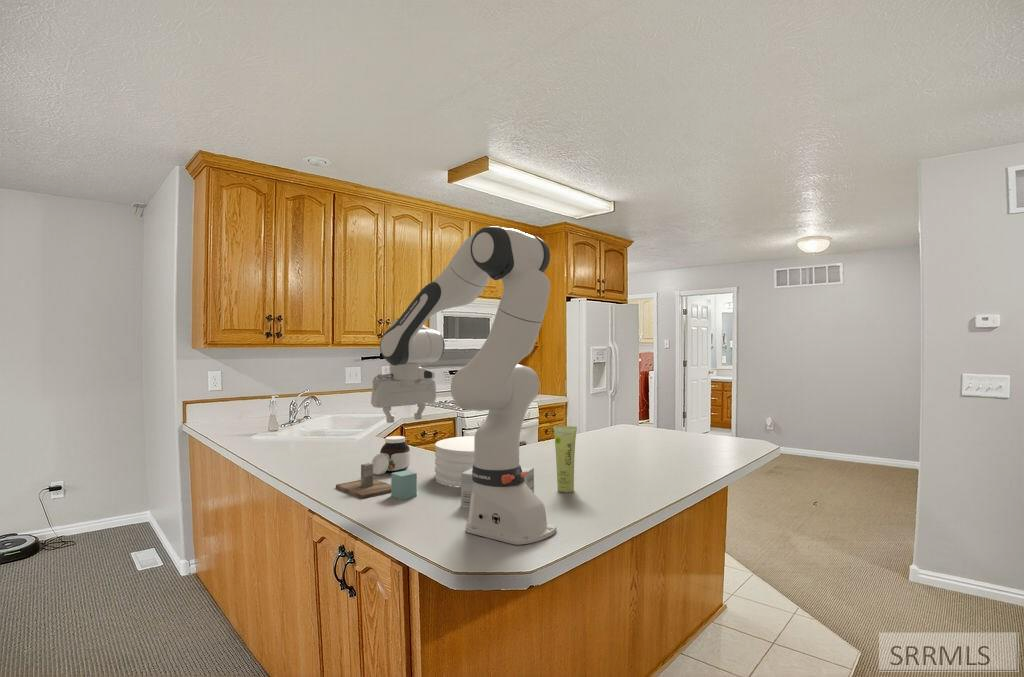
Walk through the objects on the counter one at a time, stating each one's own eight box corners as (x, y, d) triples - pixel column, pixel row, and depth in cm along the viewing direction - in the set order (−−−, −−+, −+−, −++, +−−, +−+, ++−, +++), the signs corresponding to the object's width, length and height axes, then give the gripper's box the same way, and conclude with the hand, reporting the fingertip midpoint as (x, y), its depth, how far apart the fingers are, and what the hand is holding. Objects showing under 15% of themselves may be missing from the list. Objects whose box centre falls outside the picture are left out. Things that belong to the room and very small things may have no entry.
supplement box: (534, 500, 148) (534, 467, 148) (518, 514, 136) (518, 478, 136) (480, 494, 154) (480, 462, 154) (460, 506, 142) (460, 472, 142)
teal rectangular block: (416, 496, 151) (416, 473, 151) (401, 499, 148) (401, 476, 148) (406, 492, 155) (406, 470, 155) (391, 495, 151) (391, 473, 151)
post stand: (398, 490, 157) (398, 465, 157) (362, 498, 148) (362, 472, 149) (371, 480, 168) (371, 457, 168) (335, 487, 160) (336, 463, 160)
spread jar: (412, 468, 185) (412, 436, 186) (402, 476, 174) (402, 441, 174) (379, 468, 187) (379, 435, 187) (367, 475, 175) (368, 441, 175)
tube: (559, 493, 154) (559, 427, 155) (552, 489, 159) (552, 425, 159) (576, 492, 156) (576, 426, 156) (570, 487, 161) (570, 424, 161)
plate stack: (420, 484, 165) (420, 448, 165) (455, 465, 191) (455, 434, 192) (504, 492, 157) (504, 453, 157) (528, 471, 183) (528, 438, 183)
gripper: (379, 375, 142) (378, 425, 142) (439, 372, 157) (438, 418, 157) (367, 374, 147) (366, 423, 147) (426, 371, 161) (426, 416, 161)
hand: (404, 420), depth 152 cm, fingers open, 8 cm apart
